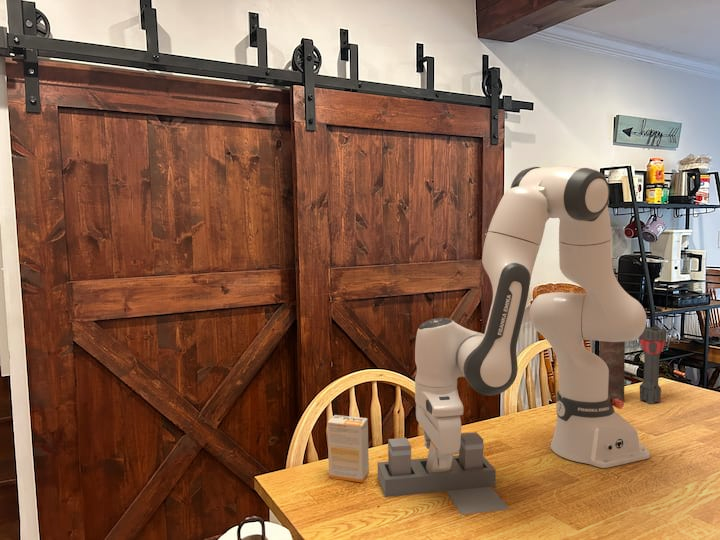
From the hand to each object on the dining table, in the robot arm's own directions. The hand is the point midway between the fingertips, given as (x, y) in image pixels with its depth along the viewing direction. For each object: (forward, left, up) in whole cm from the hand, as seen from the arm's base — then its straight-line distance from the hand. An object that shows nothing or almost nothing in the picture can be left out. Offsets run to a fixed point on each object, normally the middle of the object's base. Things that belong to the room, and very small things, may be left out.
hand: (435, 456), depth 114 cm
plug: (0, 0, -4) cm, 4 cm away
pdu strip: (0, 0, -6) cm, 6 cm away
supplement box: (+18, -7, -6) cm, 20 cm away
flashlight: (-82, -39, -6) cm, 91 cm away
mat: (-6, +8, -6) cm, 12 cm away
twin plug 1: (+8, 0, -4) cm, 9 cm away
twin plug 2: (-8, 0, -4) cm, 9 cm away
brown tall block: (-70, -41, -6) cm, 81 cm away
